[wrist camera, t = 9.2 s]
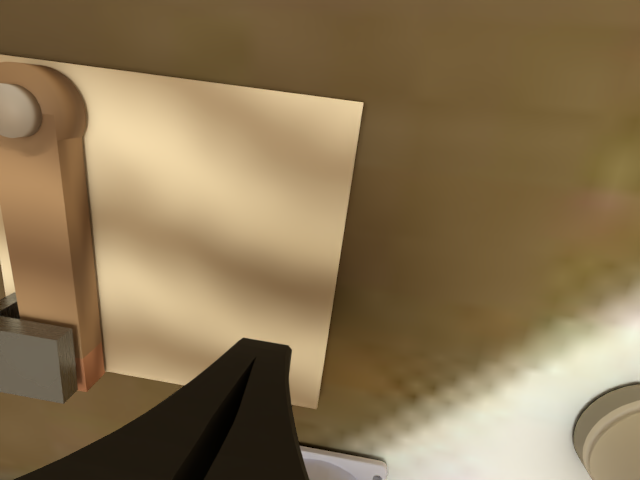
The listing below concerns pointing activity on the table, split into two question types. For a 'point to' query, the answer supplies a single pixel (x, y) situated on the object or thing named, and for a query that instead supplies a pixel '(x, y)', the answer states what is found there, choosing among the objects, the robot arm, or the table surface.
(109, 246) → the latch board
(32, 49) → the table surface
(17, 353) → the keeper
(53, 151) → the link
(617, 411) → the travel mug
